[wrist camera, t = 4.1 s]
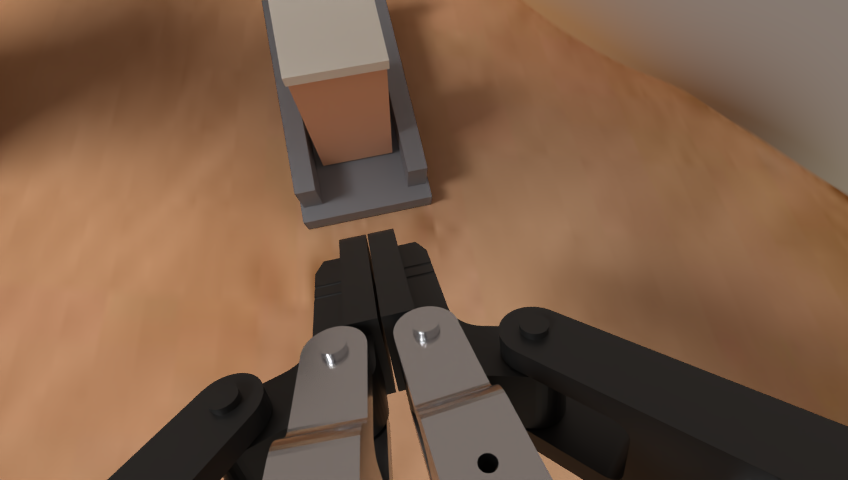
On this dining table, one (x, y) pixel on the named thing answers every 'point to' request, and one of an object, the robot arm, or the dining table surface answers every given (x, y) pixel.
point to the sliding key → (336, 74)
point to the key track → (363, 178)
